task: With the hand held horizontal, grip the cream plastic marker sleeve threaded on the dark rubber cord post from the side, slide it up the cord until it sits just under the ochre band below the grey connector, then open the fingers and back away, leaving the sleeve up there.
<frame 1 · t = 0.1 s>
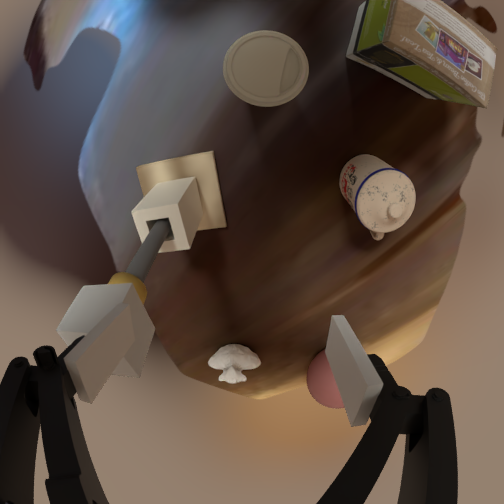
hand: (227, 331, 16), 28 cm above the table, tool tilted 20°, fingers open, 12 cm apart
coffee cup: (263, 74, 31), on the table
tea box: (394, 51, 27), on the table
tan slab base: (182, 194, 41), on the table
teacup with lid: (364, 188, 40), on the table
bust: (234, 347, 61), on the table
balloon: (333, 355, 63), on the table
marker sleeve: (171, 212, 35), point 7 cm above the table, slide at 0.0 cm
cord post: (150, 247, 28), on the tan slab base, point 15 cm above the table
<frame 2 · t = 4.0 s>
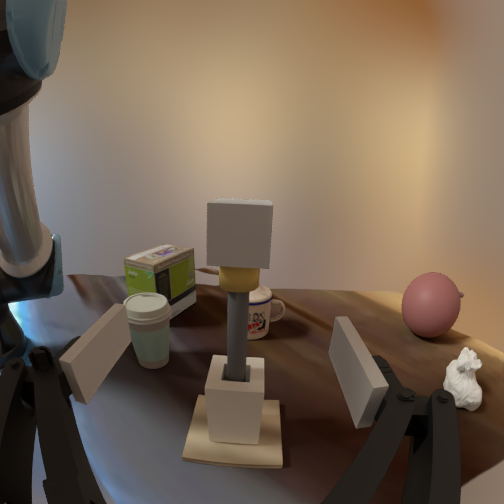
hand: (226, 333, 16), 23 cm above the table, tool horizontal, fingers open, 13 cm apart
coffee cup: (153, 360, 45), on the table
tea box: (164, 310, 64), on the table
tan slab base: (235, 432, 31), on the table
teacup with lid: (255, 330, 58), on the table
bust: (453, 399, 32), on the table
balloon: (428, 332, 55), on the table
marker sleeve: (235, 402, 29), point 6 cm above the table, slide at 0.0 cm
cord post: (237, 345, 27), on the tan slab base, point 15 cm above the table
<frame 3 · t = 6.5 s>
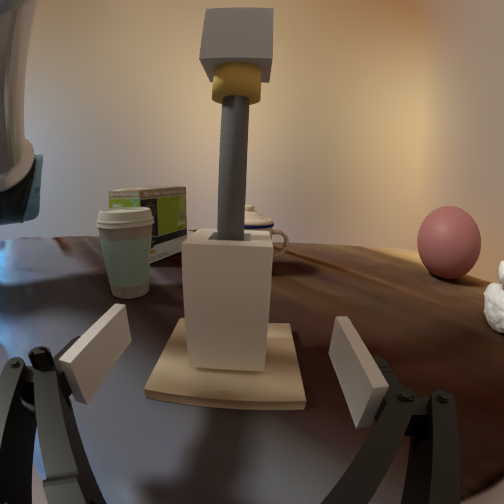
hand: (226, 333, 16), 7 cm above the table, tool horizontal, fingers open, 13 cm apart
coffee cup: (130, 292, 37), on the table
tea box: (150, 256, 57), on the table
tan slab base: (229, 361, 23), on the table
teacup with lid: (254, 269, 51), on the table
bust: (498, 329, 25), on the table
balloon: (449, 277, 48), on the table
marker sleeve: (229, 297, 22), point 6 cm above the table, slide at 0.0 cm
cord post: (232, 186, 20), on the tan slab base, point 15 cm above the table
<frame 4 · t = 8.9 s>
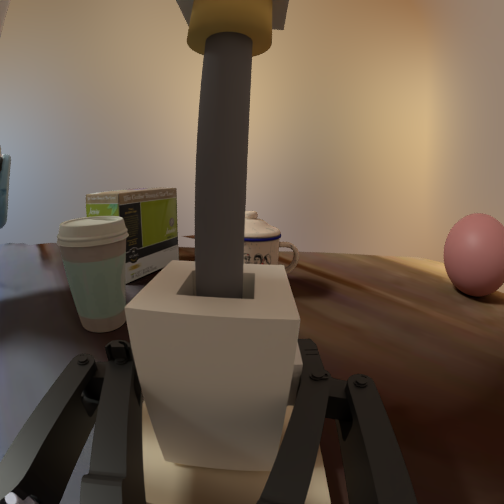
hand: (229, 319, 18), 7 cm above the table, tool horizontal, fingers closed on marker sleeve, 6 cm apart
coffee cup: (104, 322, 28), on the table
tea box: (136, 269, 48), on the table
tan slab base: (223, 443, 14), on the table
teacup with lid: (257, 289, 42), on the table
balloon: (476, 293, 39), on the table
marker sleeve: (220, 374, 13), point 6 cm above the table, slide at 0.0 cm, touching gripper
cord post: (220, 192, 11), on the tan slab base, point 15 cm above the table
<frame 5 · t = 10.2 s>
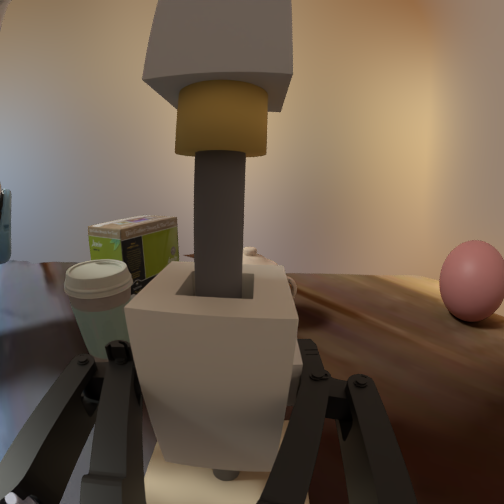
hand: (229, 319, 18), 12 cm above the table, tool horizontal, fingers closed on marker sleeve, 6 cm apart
coffee cup: (113, 358, 30), on the table
tea box: (139, 296, 49), on the table
tan slab base: (226, 476, 16), on the table
teacup with lid: (256, 320, 43), on the table
balloon: (470, 317, 40), on the table
marker sleeve: (220, 374, 13), point 12 cm above the table, slide at 5.1 cm, touching gripper
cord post: (218, 312, 12), on the tan slab base, point 15 cm above the table
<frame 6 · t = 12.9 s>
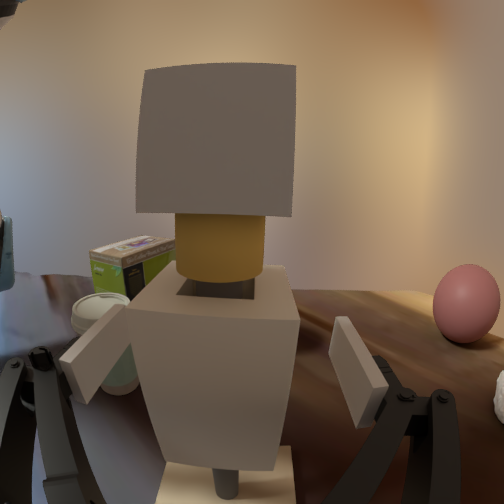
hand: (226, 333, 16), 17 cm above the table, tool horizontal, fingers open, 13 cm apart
coffee cup: (119, 382, 31), on the table
tea box: (141, 316, 50), on the table
tan slab base: (227, 494, 17), on the table
bust: (503, 417, 18), on the table
balloon: (462, 337, 41), on the table
marker sleeve: (220, 374, 13), point 16 cm above the table, slide at 9.8 cm
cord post: (221, 388, 13), on the tan slab base, point 15 cm above the table
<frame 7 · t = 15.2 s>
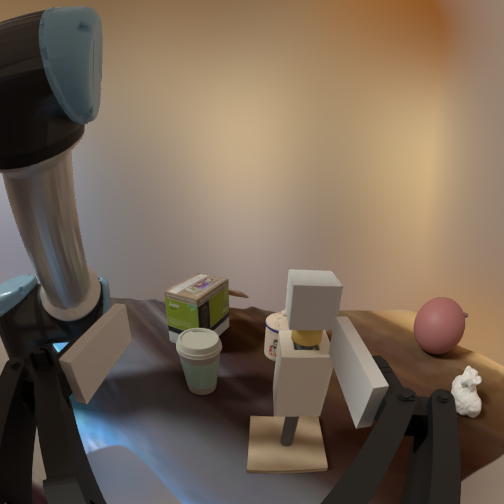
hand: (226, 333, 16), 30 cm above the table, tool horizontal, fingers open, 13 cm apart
coffee cup: (202, 386, 50), on the table
tea box: (200, 335, 70), on the table
tan slab base: (285, 445, 36), on the table
teacup with lid: (287, 353, 63), on the table
bust: (457, 408, 37), on the table
balloon: (436, 349, 59), on the table
marker sleeve: (300, 374, 32), point 16 cm above the table, slide at 9.8 cm
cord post: (299, 380, 32), on the tan slab base, point 15 cm above the table
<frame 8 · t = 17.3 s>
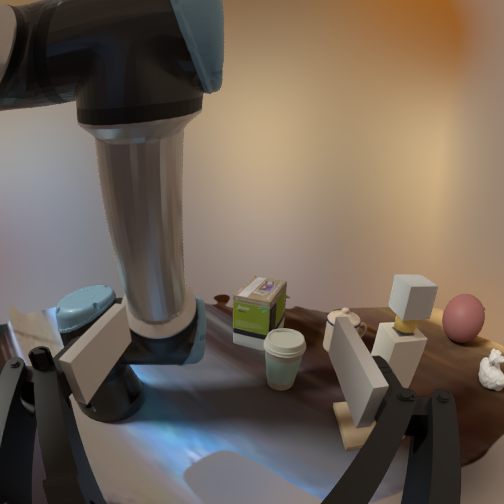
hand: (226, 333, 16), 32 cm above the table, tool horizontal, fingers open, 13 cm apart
coffee cup: (280, 382, 55), on the table
tea box: (259, 335, 74), on the table
tan slab base: (367, 423, 41), on the table
teacup with lid: (342, 347, 68), on the table
bust: (485, 384, 42), on the table
balloon: (460, 339, 65), on the table
marker sleeve: (394, 357, 36), point 16 cm above the table, slide at 9.8 cm
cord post: (392, 362, 37), on the tan slab base, point 15 cm above the table
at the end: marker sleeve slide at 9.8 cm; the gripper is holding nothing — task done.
